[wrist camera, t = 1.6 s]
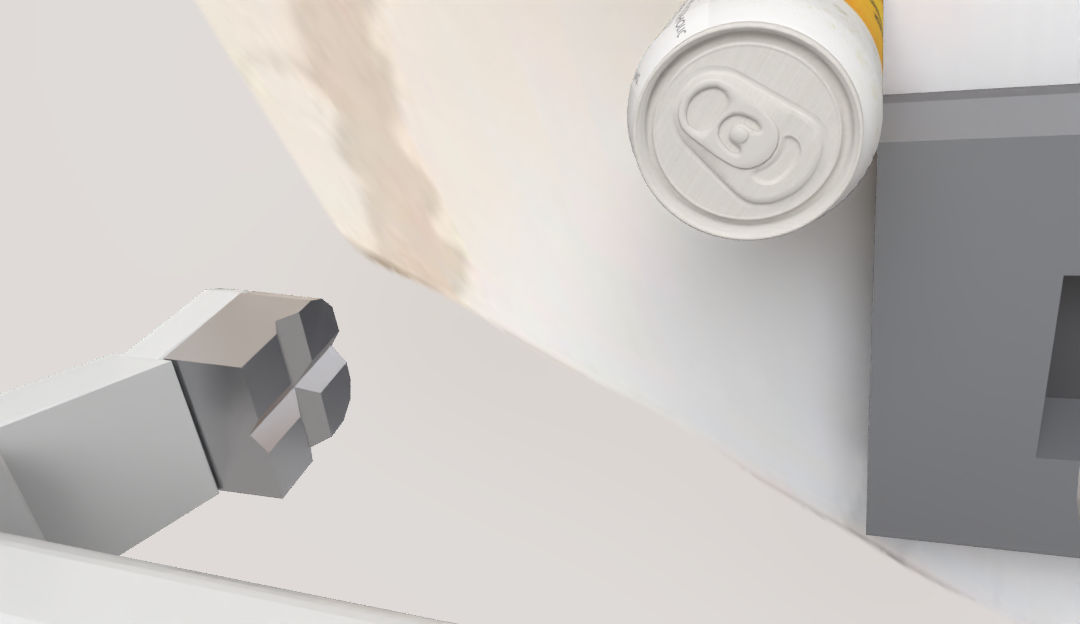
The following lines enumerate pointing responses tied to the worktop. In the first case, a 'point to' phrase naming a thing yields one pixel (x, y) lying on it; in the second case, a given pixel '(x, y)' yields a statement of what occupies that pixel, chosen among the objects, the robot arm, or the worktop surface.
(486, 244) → the worktop surface
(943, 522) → the can dock
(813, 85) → the beer can
